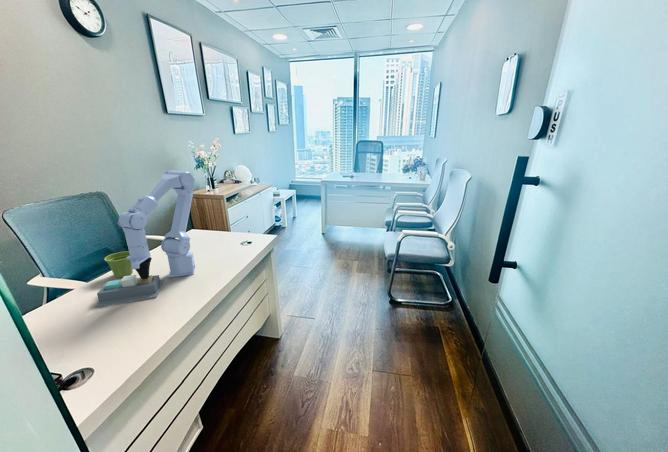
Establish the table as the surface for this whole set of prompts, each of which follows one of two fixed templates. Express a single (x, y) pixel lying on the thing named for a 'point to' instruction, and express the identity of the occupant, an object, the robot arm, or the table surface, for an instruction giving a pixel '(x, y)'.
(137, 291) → the tray
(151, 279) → the oak key
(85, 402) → the table surface
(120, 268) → the plant pot
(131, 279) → the ivory key
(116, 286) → the teal key
